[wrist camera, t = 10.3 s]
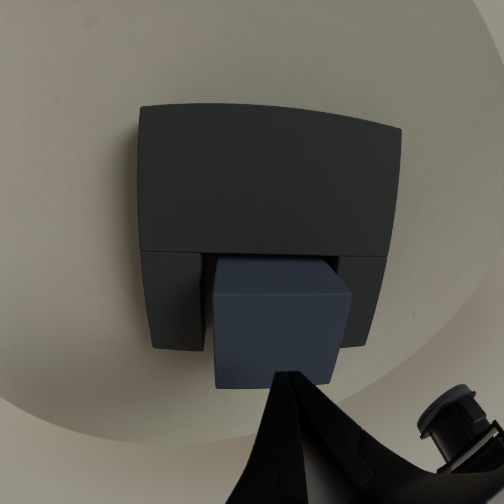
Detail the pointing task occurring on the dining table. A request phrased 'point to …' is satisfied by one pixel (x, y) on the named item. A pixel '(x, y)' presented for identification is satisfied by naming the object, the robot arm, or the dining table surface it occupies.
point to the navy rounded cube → (276, 318)
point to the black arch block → (260, 203)
